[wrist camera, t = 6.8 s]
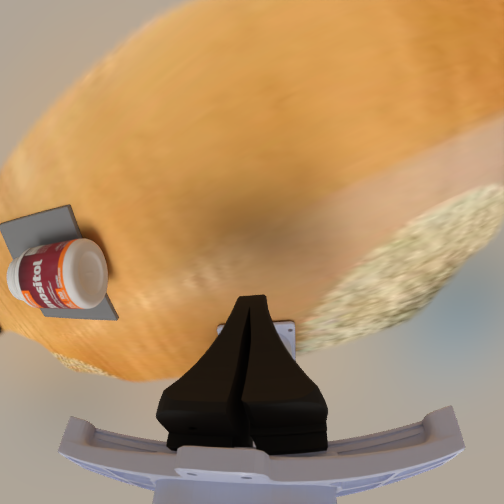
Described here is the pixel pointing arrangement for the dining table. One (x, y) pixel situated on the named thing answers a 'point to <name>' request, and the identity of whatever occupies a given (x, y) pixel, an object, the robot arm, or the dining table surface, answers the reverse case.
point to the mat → (48, 232)
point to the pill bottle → (60, 275)
